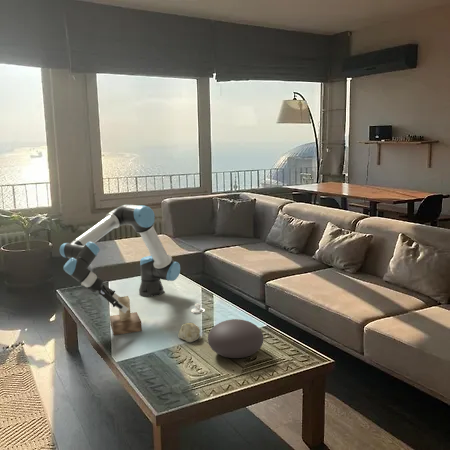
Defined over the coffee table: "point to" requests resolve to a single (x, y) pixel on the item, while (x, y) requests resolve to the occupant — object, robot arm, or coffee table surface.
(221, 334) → the flattened ellipsoid
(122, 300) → the beech block
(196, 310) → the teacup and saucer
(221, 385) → the coffee table surface
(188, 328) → the decorative item
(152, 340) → the coffee table surface
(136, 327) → the walnut block
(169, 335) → the coffee table surface
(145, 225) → the robot arm
